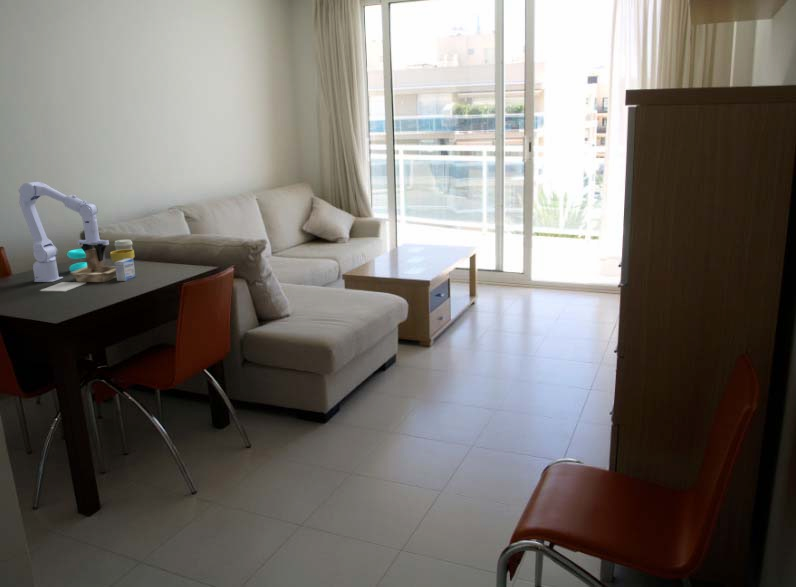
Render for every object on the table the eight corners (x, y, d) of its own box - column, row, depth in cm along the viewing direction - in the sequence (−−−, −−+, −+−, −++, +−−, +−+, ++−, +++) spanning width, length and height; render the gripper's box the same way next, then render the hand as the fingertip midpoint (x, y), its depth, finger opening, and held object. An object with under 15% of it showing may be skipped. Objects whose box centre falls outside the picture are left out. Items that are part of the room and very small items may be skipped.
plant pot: (110, 274, 315) (107, 254, 313) (116, 270, 325) (113, 249, 322) (134, 273, 317) (131, 252, 314) (138, 268, 326) (135, 248, 324)
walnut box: (87, 268, 304) (84, 250, 302) (97, 265, 311) (95, 247, 309) (96, 268, 303) (93, 250, 301) (106, 265, 310) (103, 247, 308)
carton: (67, 282, 302) (66, 273, 301) (92, 274, 319) (90, 265, 317) (106, 283, 298) (104, 274, 297) (128, 274, 314) (127, 265, 313)
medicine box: (125, 281, 301) (123, 262, 299) (116, 281, 302) (114, 261, 300) (136, 277, 309) (133, 258, 307) (127, 276, 310) (124, 258, 307)
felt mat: (40, 291, 289) (39, 290, 289) (62, 283, 302) (62, 282, 302) (64, 291, 287) (64, 290, 287) (86, 283, 300) (85, 282, 300)
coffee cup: (119, 263, 340) (116, 239, 337) (137, 262, 341) (134, 238, 338) (114, 267, 332) (111, 242, 329) (133, 265, 333) (129, 241, 330)
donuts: (94, 249, 326) (75, 253, 318) (97, 269, 328) (78, 273, 320) (80, 247, 331) (62, 251, 323) (84, 267, 333) (65, 272, 325)
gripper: (71, 232, 301) (75, 262, 304) (100, 232, 298) (104, 262, 301) (81, 229, 307) (86, 259, 311) (110, 229, 304) (114, 259, 308)
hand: (95, 260), depth 306 cm, fingers closed on walnut box, 4 cm apart
